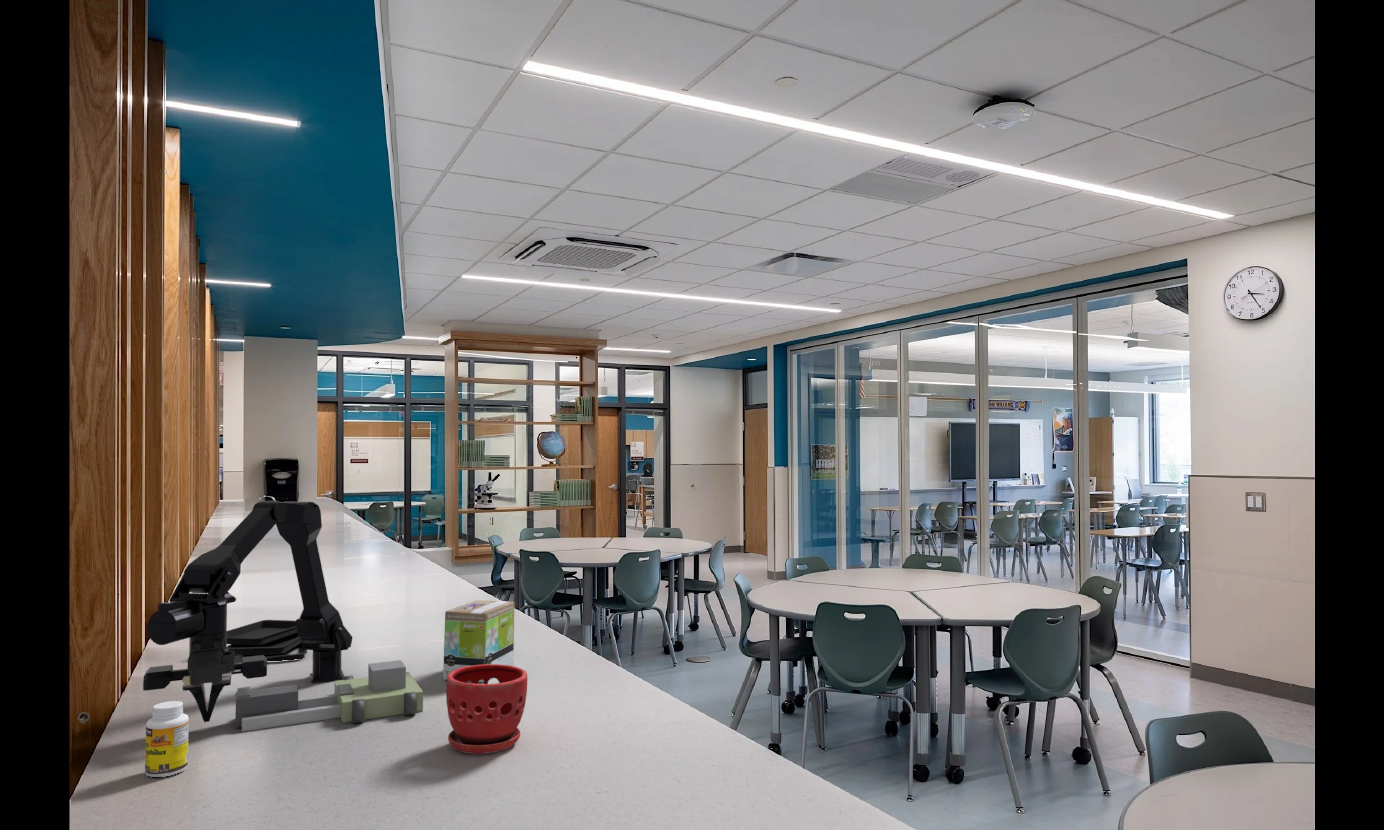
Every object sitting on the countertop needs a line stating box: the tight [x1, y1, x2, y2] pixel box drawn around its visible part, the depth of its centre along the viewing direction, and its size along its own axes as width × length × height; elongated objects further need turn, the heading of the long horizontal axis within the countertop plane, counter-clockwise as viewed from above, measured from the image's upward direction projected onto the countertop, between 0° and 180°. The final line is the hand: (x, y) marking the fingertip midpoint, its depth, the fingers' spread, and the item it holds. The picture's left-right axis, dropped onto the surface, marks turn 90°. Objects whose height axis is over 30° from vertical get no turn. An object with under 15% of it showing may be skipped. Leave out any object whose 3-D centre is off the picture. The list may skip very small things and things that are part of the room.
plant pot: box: [445, 664, 528, 755], centre depth 139 cm, size 13×13×12 cm
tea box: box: [442, 599, 515, 683], centre depth 185 cm, size 15×10×15 cm
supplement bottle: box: [144, 700, 190, 778], centre depth 128 cm, size 6×6×10 cm
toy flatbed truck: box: [241, 659, 424, 732], centre depth 158 cm, size 22×30×8 cm
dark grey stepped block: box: [234, 684, 299, 729], centre depth 152 cm, size 6×10×6 cm, turn 118°
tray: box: [226, 619, 308, 661], centre depth 205 cm, size 30×23×5 cm
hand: (206, 721), depth 148 cm, fingers closed
